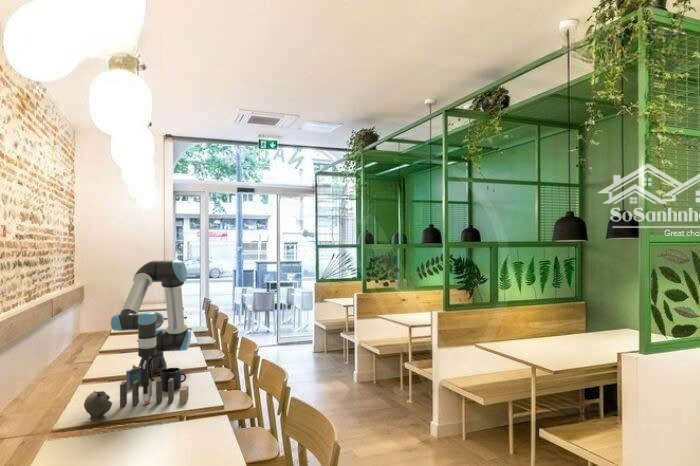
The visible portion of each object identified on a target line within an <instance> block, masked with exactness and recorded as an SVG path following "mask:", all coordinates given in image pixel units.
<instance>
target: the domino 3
mask: <svg viewBox="0 0 700 466" xmlns="http://www.w3.org/2000/svg"><path fill="white" fill-rule="evenodd" d="M150 402H151V396H150V378H149V401H143V405H148V404H150Z"/></svg>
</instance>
